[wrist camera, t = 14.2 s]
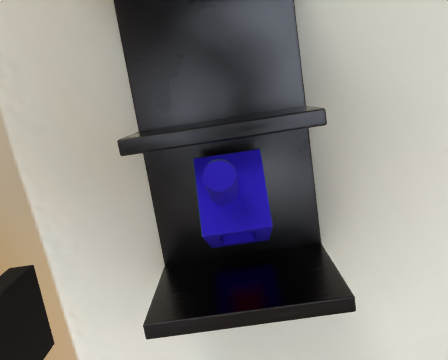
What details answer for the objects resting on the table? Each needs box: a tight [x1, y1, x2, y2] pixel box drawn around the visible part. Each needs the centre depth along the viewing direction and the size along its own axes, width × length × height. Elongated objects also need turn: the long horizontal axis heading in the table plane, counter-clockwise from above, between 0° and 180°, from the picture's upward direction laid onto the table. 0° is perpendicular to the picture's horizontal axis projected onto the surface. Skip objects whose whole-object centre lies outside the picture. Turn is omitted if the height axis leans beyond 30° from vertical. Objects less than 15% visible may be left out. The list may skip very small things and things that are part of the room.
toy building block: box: [193, 148, 273, 248], centre depth 22 cm, size 4×4×8 cm
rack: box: [114, 0, 356, 339], centre depth 22 cm, size 18×10×8 cm, turn 9°
